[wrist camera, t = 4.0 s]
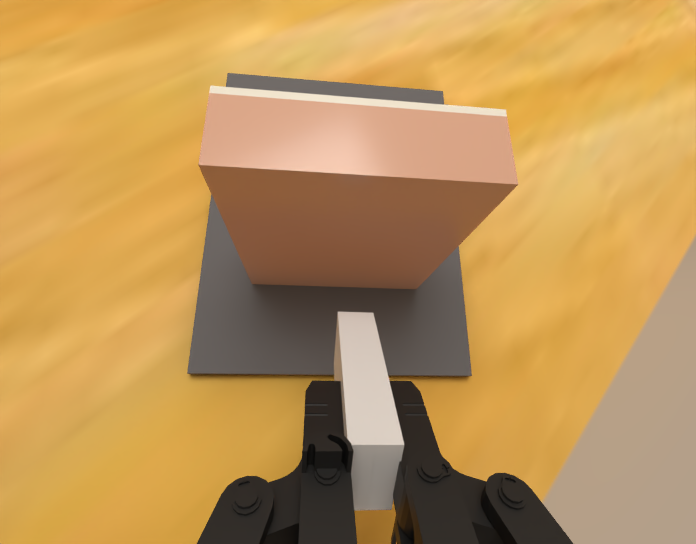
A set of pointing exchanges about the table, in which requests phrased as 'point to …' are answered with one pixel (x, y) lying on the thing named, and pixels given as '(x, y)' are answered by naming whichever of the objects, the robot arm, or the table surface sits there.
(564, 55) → the table surface
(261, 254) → the tile
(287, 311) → the mat
